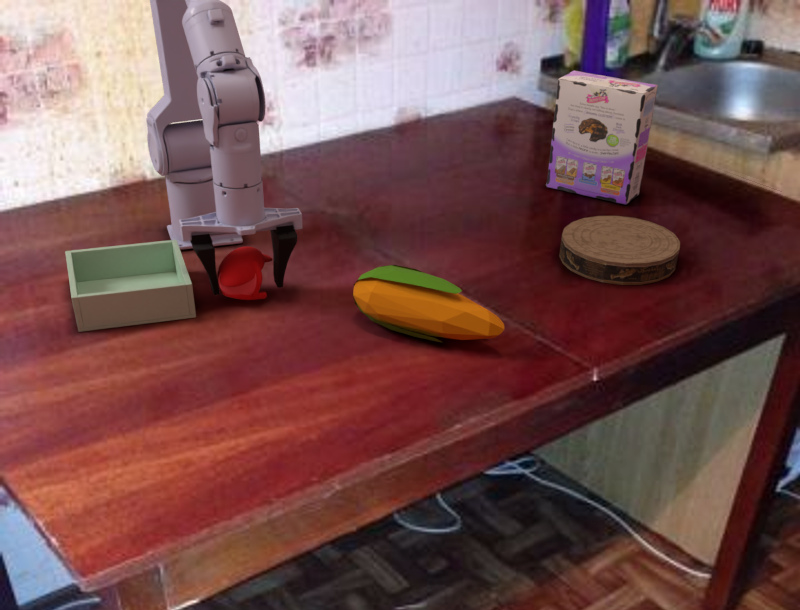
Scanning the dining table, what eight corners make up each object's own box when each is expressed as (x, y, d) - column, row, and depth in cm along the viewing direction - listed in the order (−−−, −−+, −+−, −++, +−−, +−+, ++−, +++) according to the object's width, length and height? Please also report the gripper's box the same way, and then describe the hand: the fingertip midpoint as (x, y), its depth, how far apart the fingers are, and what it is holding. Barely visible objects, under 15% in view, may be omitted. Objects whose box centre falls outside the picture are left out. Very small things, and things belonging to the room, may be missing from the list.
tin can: (584, 289, 128) (587, 267, 126) (543, 240, 140) (545, 219, 138) (696, 279, 131) (701, 258, 129) (646, 232, 143) (650, 212, 141)
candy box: (640, 195, 154) (660, 83, 144) (625, 206, 150) (645, 93, 140) (560, 176, 160) (574, 67, 149) (544, 187, 156) (557, 76, 145)
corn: (371, 243, 119) (522, 281, 112) (373, 299, 124) (517, 339, 117) (338, 269, 114) (494, 311, 107) (342, 327, 120) (490, 370, 112)
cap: (250, 309, 120) (255, 260, 117) (206, 296, 121) (211, 247, 118) (278, 296, 127) (284, 249, 124) (236, 284, 128) (241, 237, 125)
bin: (180, 271, 130) (176, 239, 127) (196, 317, 120) (192, 283, 117) (71, 283, 126) (64, 250, 123) (78, 332, 117) (71, 297, 114)
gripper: (180, 198, 110) (193, 309, 119) (306, 186, 114) (310, 295, 122) (171, 176, 115) (185, 284, 124) (292, 165, 119) (297, 271, 128)
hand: (247, 288), depth 124 cm, fingers closed on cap, 7 cm apart
